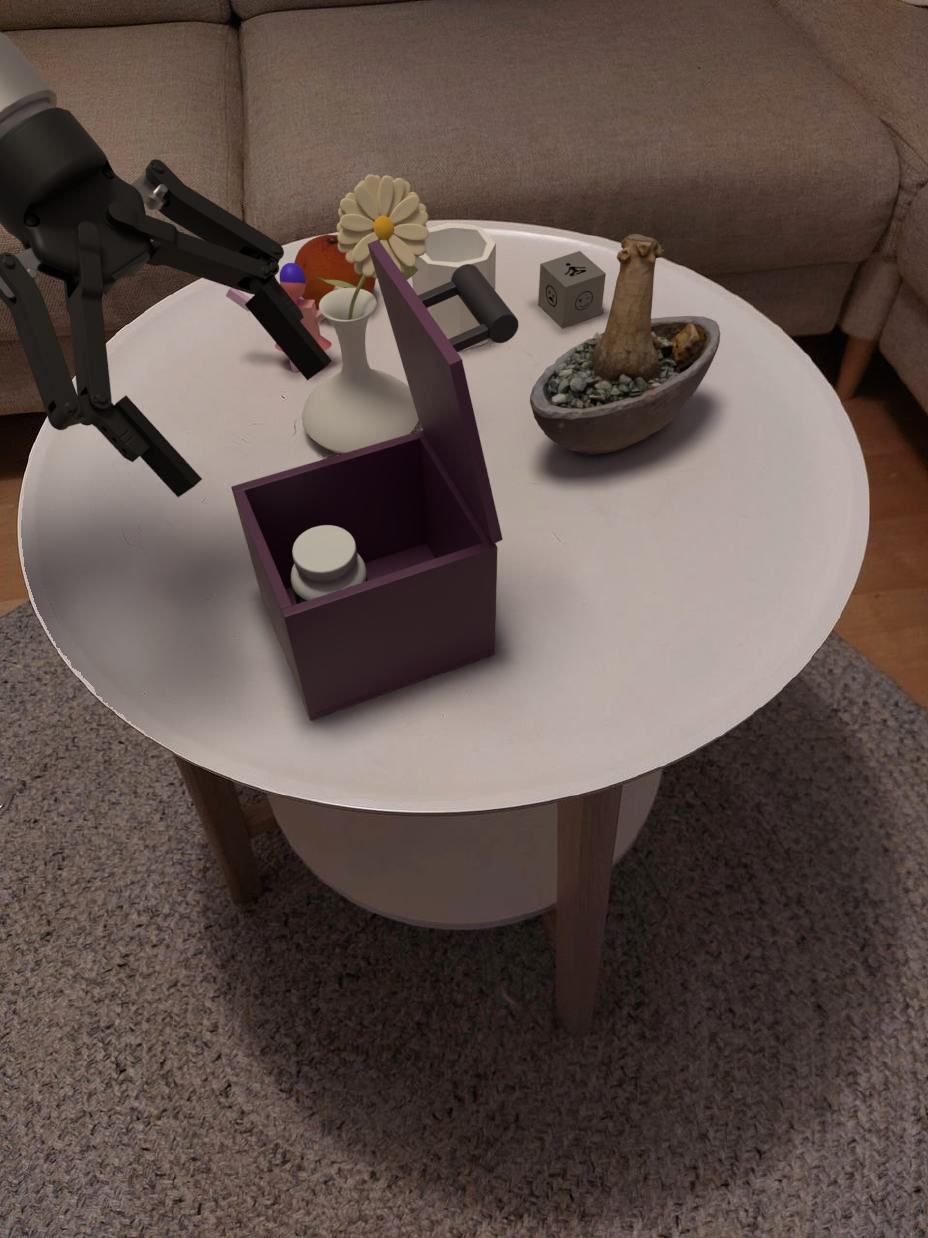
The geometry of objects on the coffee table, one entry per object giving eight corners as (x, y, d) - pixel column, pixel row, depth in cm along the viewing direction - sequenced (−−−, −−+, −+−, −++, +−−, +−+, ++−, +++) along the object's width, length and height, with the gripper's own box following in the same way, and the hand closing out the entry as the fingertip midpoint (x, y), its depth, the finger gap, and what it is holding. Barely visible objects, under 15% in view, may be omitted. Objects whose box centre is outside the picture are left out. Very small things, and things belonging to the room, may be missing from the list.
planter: (707, 395, 98) (751, 205, 82) (678, 509, 88) (722, 319, 73) (564, 368, 101) (579, 180, 85) (520, 476, 91) (529, 286, 75)
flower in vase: (307, 472, 92) (260, 223, 72) (301, 395, 99) (257, 149, 79) (444, 457, 93) (435, 207, 73) (429, 381, 100) (417, 135, 80)
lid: (449, 364, 55) (541, 323, 55) (366, 243, 63) (448, 208, 63) (492, 544, 68) (566, 510, 69) (420, 426, 76) (487, 396, 76)
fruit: (389, 316, 107) (384, 249, 101) (311, 334, 105) (300, 267, 99) (366, 273, 112) (359, 207, 106) (291, 290, 110) (279, 223, 104)
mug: (499, 348, 103) (500, 264, 96) (418, 354, 103) (413, 270, 95) (486, 283, 111) (486, 200, 103) (410, 288, 110) (405, 206, 102)
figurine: (243, 351, 104) (221, 255, 95) (355, 353, 103) (343, 257, 94) (236, 371, 101) (213, 275, 93) (351, 374, 101) (339, 277, 92)
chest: (310, 720, 75) (284, 617, 65) (261, 595, 83) (230, 486, 73) (495, 654, 79) (497, 546, 68) (431, 540, 86) (425, 428, 76)
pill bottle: (312, 599, 81) (295, 515, 74) (380, 606, 81) (369, 522, 73) (296, 654, 78) (275, 572, 70) (366, 661, 77) (353, 580, 69)
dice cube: (562, 328, 105) (565, 287, 101) (538, 304, 108) (540, 263, 104) (601, 314, 107) (605, 273, 103) (576, 291, 109) (579, 250, 106)
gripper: (139, 97, 67) (340, 348, 74) (-173, 274, 54) (106, 558, 61) (179, 28, 61) (394, 307, 68) (-160, 208, 48) (148, 531, 55)
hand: (259, 427), depth 65 cm, fingers open, 13 cm apart
